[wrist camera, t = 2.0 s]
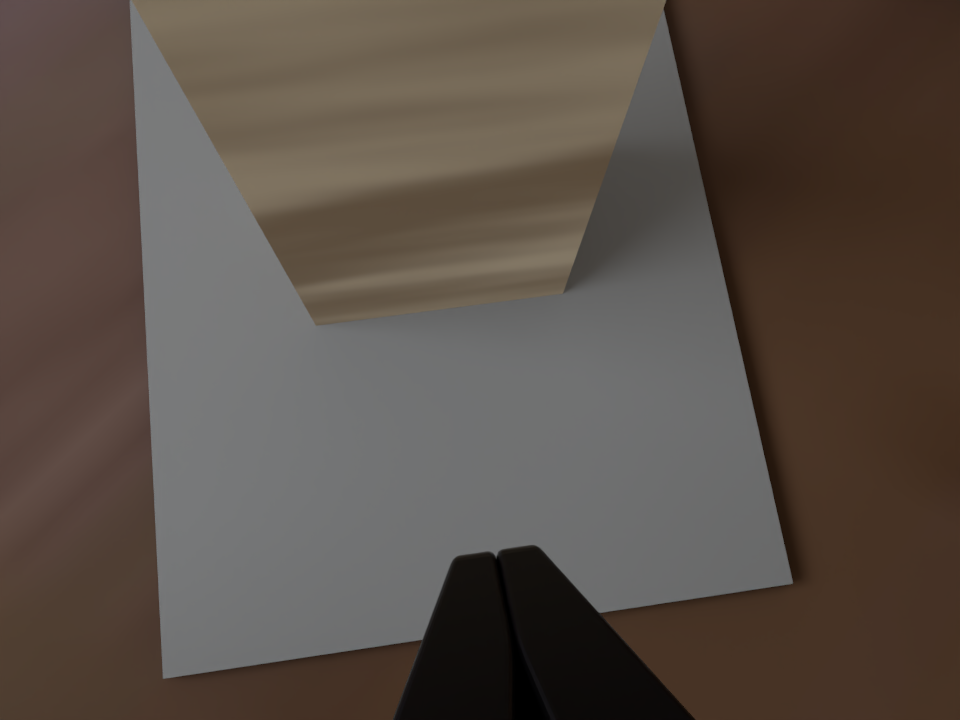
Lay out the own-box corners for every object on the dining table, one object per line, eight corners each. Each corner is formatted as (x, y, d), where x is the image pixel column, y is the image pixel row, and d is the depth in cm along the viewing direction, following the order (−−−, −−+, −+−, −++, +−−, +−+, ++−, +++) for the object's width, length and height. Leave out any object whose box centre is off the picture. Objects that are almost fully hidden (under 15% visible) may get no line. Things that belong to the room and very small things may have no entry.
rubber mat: (786, 583, 20) (793, 583, 19) (169, 676, 19) (163, 678, 19) (590, -295, 26) (592, -309, 26) (121, -253, 25) (116, -265, 25)
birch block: (565, 295, 21) (757, -234, 7) (313, 327, 21) (29, -165, 7) (538, 144, 22) (664, -568, 8) (298, 172, 22) (23, -520, 8)
